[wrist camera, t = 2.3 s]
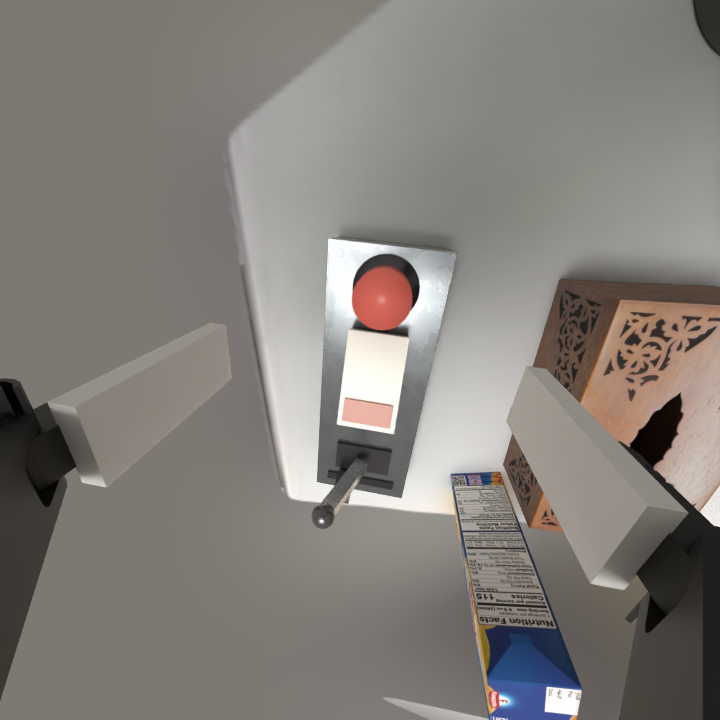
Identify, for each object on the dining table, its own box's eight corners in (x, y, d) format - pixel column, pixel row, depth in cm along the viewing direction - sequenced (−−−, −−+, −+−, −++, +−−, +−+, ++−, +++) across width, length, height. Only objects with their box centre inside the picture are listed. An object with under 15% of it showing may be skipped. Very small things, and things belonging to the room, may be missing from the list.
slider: (338, 470, 39) (334, 484, 37) (353, 472, 39) (350, 487, 37) (337, 486, 40) (333, 500, 38) (351, 488, 40) (348, 503, 38)
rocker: (351, 328, 31) (348, 329, 28) (408, 336, 30) (409, 338, 28) (340, 417, 32) (336, 425, 30) (393, 426, 32) (393, 435, 30)
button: (359, 262, 26) (354, 266, 23) (416, 268, 25) (417, 274, 23) (354, 316, 28) (349, 325, 25) (406, 323, 28) (406, 334, 25)
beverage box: (499, 471, 42) (582, 688, 22) (500, 523, 46) (571, 745, 26) (450, 473, 44) (487, 678, 24) (456, 524, 48) (491, 734, 28)
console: (339, 237, 32) (325, 239, 27) (449, 249, 31) (459, 254, 25) (325, 456, 46) (314, 488, 40) (401, 470, 45) (401, 505, 39)
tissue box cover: (612, 476, 40) (672, 548, 31) (502, 462, 42) (528, 527, 33) (712, 286, 29) (848, 312, 20) (558, 278, 31) (620, 299, 22)
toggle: (354, 453, 37) (307, 510, 29) (371, 460, 36) (327, 522, 28) (352, 467, 38) (306, 526, 30) (369, 475, 37) (325, 538, 29)
